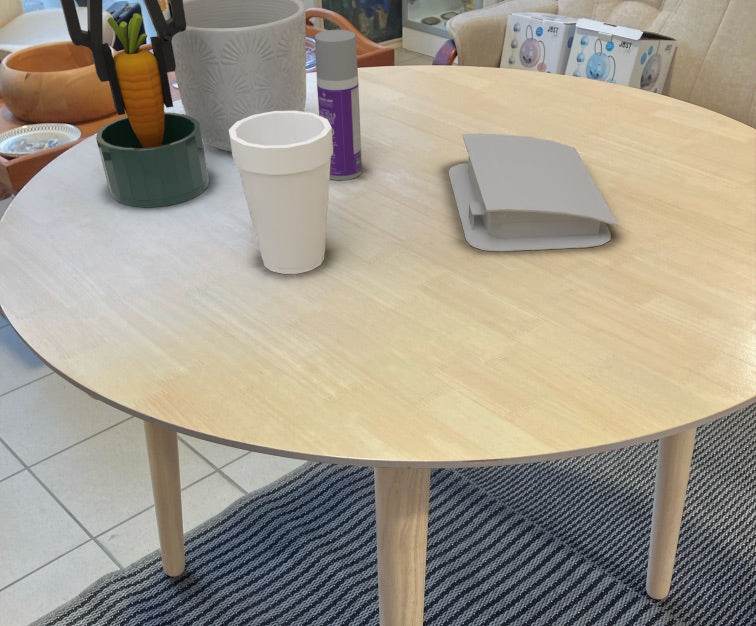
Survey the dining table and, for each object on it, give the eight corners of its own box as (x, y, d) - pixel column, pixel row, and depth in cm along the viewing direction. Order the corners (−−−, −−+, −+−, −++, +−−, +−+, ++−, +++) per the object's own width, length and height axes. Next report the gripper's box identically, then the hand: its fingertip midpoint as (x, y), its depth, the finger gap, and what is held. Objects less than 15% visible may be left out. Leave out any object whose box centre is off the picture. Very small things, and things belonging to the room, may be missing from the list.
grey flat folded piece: (469, 252, 88) (471, 216, 85) (446, 163, 104) (447, 131, 102) (618, 245, 88) (624, 209, 85) (571, 158, 104) (575, 125, 102)
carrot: (124, 158, 99) (91, 14, 89) (160, 146, 102) (132, 4, 92) (148, 170, 97) (117, 22, 86) (184, 157, 99) (158, 12, 89)
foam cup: (241, 282, 84) (221, 149, 75) (252, 239, 91) (235, 112, 82) (337, 280, 84) (329, 146, 75) (341, 237, 91) (333, 109, 82)
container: (318, 178, 102) (308, 40, 92) (329, 163, 105) (320, 28, 95) (356, 181, 101) (350, 42, 91) (366, 166, 104) (361, 30, 94)
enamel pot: (94, 205, 98) (79, 148, 94) (131, 165, 106) (118, 110, 102) (191, 209, 97) (180, 151, 92) (220, 168, 105) (212, 113, 101)
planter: (163, 135, 113) (138, 6, 103) (276, 108, 120) (263, -16, 109) (219, 177, 103) (198, 38, 92) (339, 145, 109) (331, 11, 99)
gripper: (-8, -143, 75) (67, 131, 91) (192, -159, 79) (229, 105, 95) (-12, -153, 80) (59, 108, 96) (176, -167, 84) (213, 85, 100)
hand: (143, 106), depth 95 cm, fingers closed on carrot, 5 cm apart
